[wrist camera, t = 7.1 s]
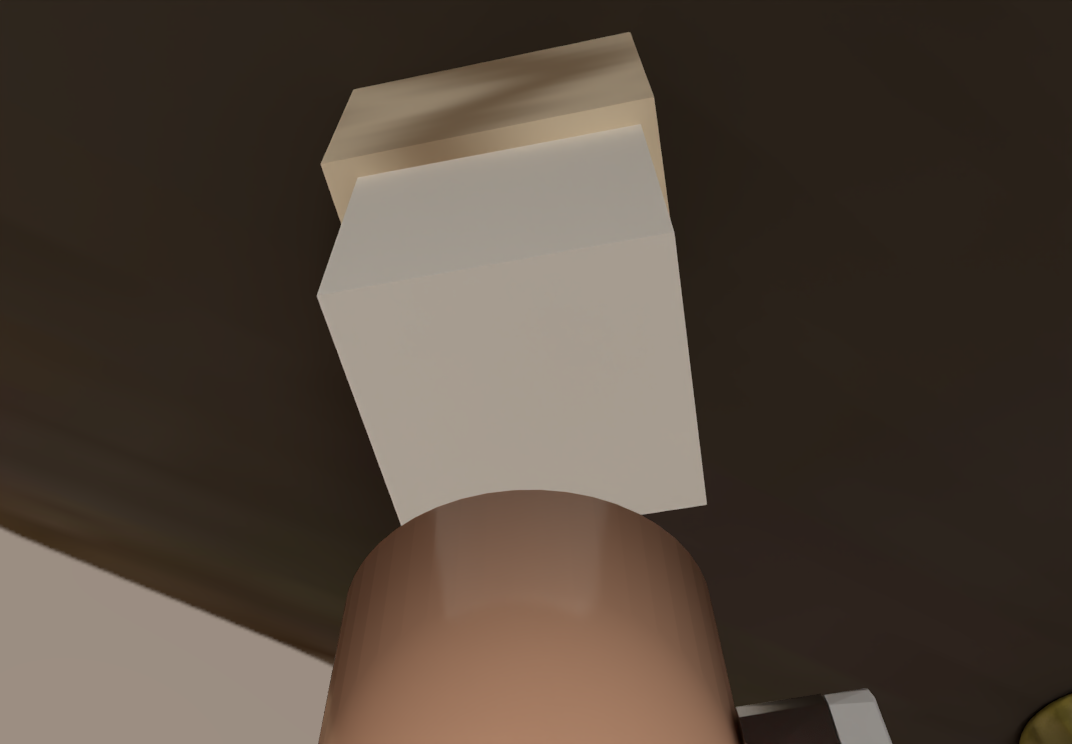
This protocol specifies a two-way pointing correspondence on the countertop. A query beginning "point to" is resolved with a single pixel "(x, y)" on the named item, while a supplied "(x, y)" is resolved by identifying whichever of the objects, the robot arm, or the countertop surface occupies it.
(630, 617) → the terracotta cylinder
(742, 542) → the countertop surface
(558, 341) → the tower top
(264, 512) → the countertop surface
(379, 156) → the tower base
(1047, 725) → the vase
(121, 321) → the countertop surface
